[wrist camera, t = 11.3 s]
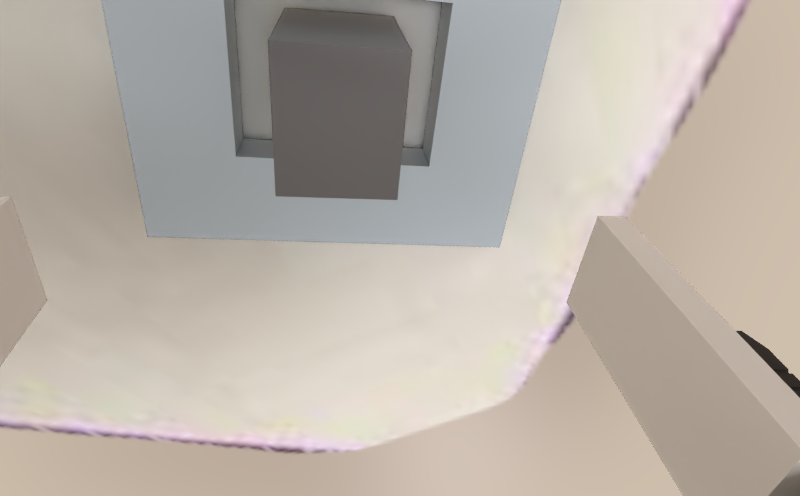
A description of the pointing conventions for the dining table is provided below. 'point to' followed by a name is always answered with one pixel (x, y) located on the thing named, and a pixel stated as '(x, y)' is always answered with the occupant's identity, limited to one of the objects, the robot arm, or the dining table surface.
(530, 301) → the dining table surface
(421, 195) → the socket plate
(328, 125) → the plug
